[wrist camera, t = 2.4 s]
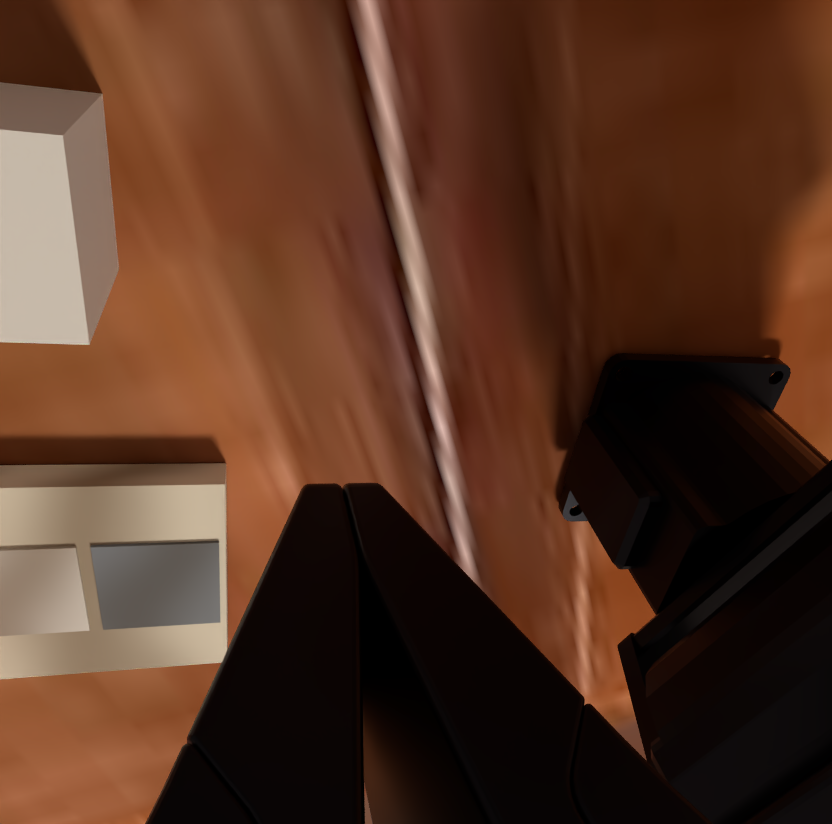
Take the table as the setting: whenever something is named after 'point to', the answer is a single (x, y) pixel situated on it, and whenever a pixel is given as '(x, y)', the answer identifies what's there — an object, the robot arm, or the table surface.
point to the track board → (112, 567)
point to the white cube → (54, 215)
